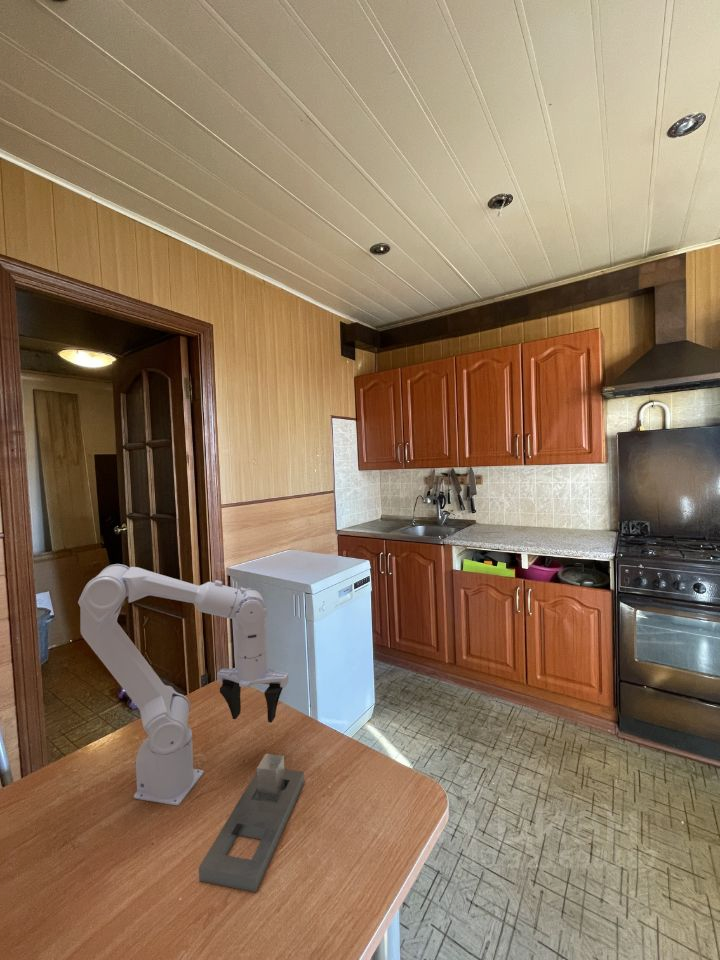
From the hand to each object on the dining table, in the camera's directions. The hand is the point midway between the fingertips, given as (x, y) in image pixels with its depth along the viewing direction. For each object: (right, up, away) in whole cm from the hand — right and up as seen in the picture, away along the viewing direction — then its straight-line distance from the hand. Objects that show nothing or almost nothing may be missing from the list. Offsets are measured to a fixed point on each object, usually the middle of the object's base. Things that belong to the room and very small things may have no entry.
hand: (254, 717), depth 80 cm
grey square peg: (+6, -10, -9) cm, 14 cm away
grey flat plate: (+4, -10, -14) cm, 17 cm away
